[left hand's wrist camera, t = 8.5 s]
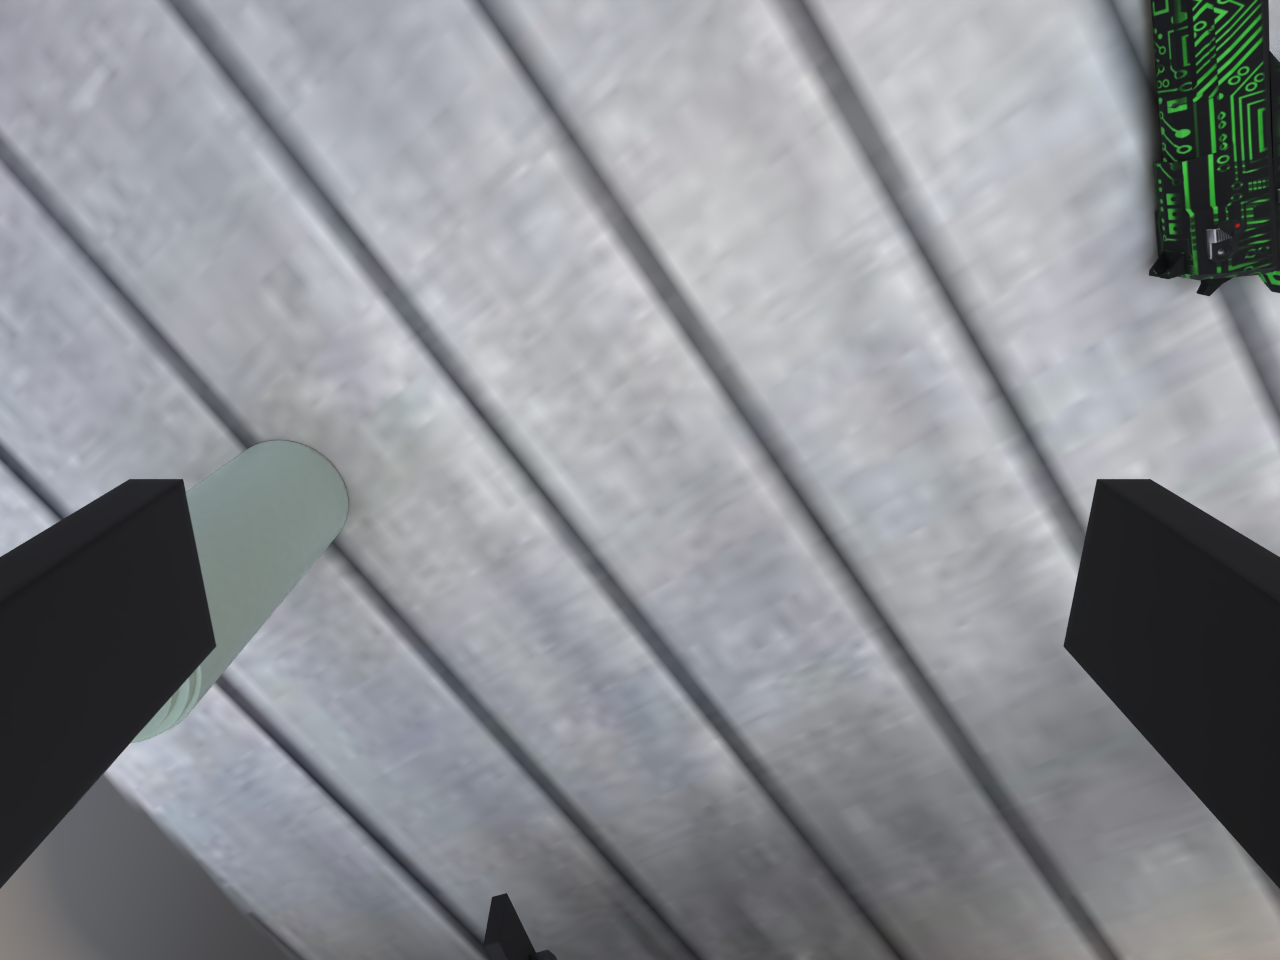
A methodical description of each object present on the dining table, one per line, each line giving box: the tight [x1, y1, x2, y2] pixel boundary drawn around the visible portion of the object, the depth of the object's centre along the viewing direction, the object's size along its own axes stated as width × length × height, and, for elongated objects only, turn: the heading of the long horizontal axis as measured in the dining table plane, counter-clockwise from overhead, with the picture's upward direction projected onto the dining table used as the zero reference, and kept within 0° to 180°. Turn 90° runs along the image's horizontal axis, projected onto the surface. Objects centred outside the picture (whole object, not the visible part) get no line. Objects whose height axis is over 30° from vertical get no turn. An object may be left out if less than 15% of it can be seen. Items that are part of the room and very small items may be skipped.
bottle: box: [131, 440, 348, 743], centre depth 33 cm, size 6×6×20 cm
